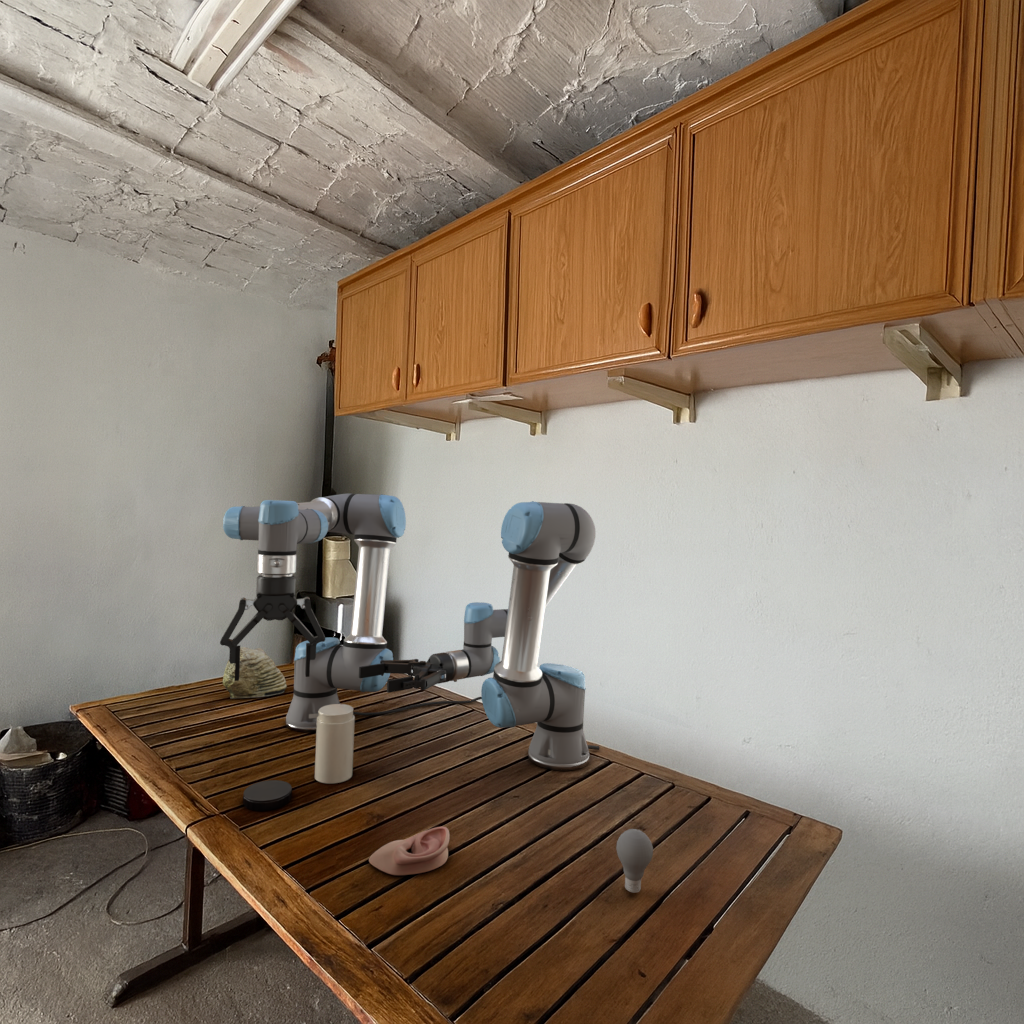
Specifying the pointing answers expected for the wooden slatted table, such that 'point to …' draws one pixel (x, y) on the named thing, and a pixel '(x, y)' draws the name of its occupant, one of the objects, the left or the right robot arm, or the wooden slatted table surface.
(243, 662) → the fossil
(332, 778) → the jar
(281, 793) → the lid
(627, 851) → the light bulb
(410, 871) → the anatomical model
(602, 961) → the wooden slatted table surface
